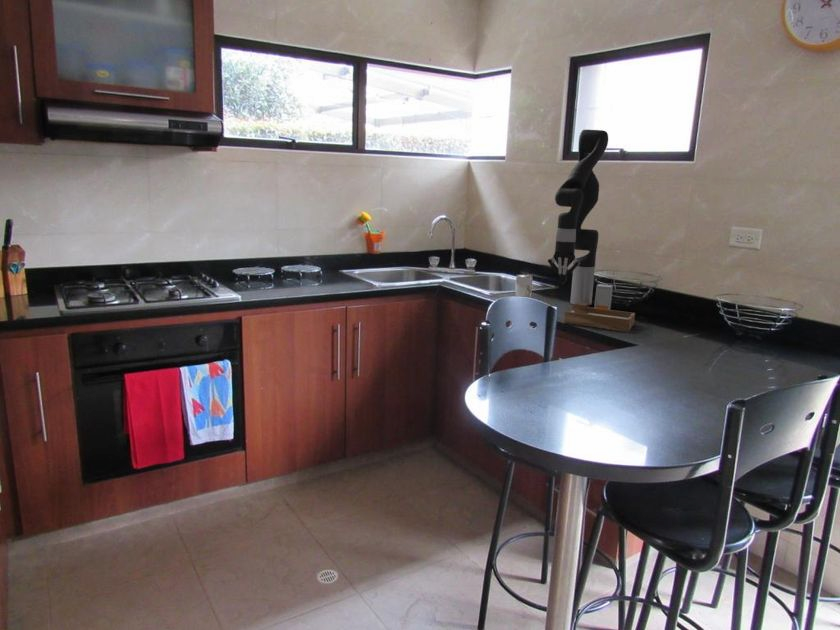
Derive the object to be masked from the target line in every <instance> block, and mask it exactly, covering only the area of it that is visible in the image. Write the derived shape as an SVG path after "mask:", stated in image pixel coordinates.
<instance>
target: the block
mask: <svg viewBox="0 0 840 630" xmlns="http://www.w3.org/2000/svg"><path fill="white" fill-rule="evenodd" d="M574 306H575V307H574V313H581V314H587V312H588V307H589V305H588V303H580V302H576V303H575V305H574Z"/></svg>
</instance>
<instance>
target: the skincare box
mask: <svg viewBox="0 0 840 630" xmlns="http://www.w3.org/2000/svg"><path fill="white" fill-rule="evenodd" d="M613 288H614V285H612V284H609V285H608V284H600V283H598V284H597V285H596V290H595V299H594V307H593V308H599V309H607V310H611V307H612V306H611V305H612V297H613V290H614V289H613Z"/></svg>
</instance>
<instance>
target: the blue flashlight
mask: <svg viewBox="0 0 840 630" xmlns="http://www.w3.org/2000/svg"><path fill="white" fill-rule="evenodd" d="M514 288H515V289H514V290H515V291H514V292H515V297H516V296H521V297H530V298H531V295H532V291H533V275H531V274H530V275H529V274H516V278H515V286H514Z"/></svg>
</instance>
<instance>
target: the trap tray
mask: <svg viewBox="0 0 840 630" xmlns="http://www.w3.org/2000/svg"><path fill="white" fill-rule="evenodd" d="M574 307H575V305H574V304H572V310H571V311H565V312H564V319H563V321H564V322H563V324H565V323H569V324H568V325H572V324H577V325H576V326H580V325H582V326H581V327H587V326H589V328H595V327H598V328H597V329H602V328H606V329H605V330H610V329H612V331H617V330H618V332H626V333H629V332H630V330H631V328H633V326H634V325H635V316H636V312H630V311H622V310H614V309H610V310H607V309H599V308H594V307H589V306H588V312H587V314H581V313H574Z"/></svg>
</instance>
